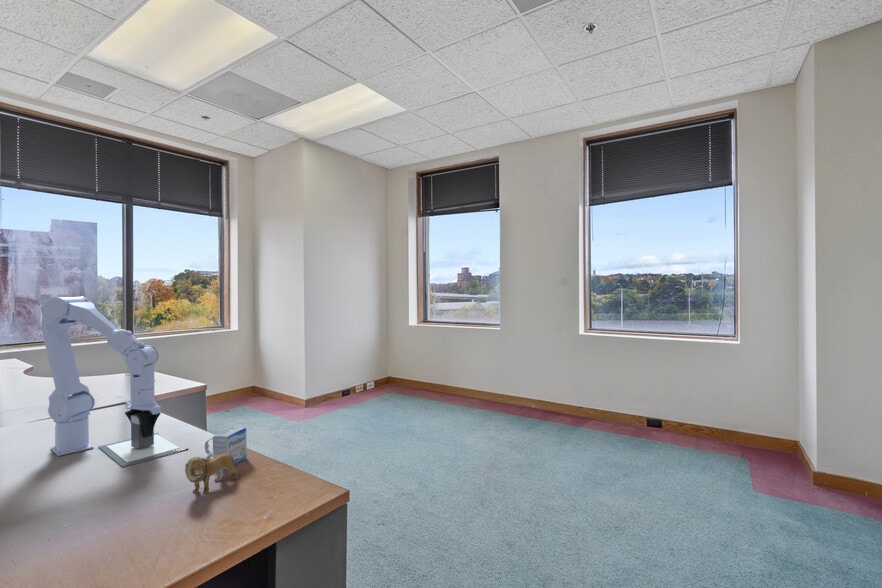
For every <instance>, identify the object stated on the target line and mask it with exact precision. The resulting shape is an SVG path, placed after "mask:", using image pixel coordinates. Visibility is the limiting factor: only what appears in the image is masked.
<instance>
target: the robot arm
mask: <svg viewBox="0 0 882 588" xmlns="http://www.w3.org/2000/svg"><path fill="white" fill-rule="evenodd" d="M40 311H41V315H42V321H41V326H40V328H41V332H42V333H41V334H42V337H43V342H44V345H45V350H46V354H47V357H48V358H47V359H48V363H49V366H50V371H51V375H52V376H51V377H52V378H53V379H52V380H53V383H54V387H55V388H54V390H53V391H52V392H51V394H49V396H48V402H49V403H48V407H47V408H48V409H47V413H48V415H49V417H50V419H51V420H53V423H55V426H54V445H52V446H50V449H51V450H52V451H53V453H54V454H55V455H56V456H57V457H60V456H64V455H68V454H69V455H70V454H73V453H77V452H82V451H85V450H91V449H94V445H93V444H92V443H90V438H89V435H90V433H89V431H90V430H89V429H90V427H89V425H90V424H89V423H90V422H89V420H90V419H89V416H90V415H91V411H92V410H93V409H94V407H95V404H96V400H95V397H94V396H93V395H92V394H91V392H90V388H89V387H88V386H87V385H86V384H83V383H82V382H81V381H80V376H79V371H78V367H77V363H76V360H75V355H74V350H73V347H72V343H71V339H70V334H69V330H70V329H71V328H72V327H73V325H74V324H76V323H77V322H83V323H85V324H87V326H90V327H91V328H92V329H94V330H95V331H97V332H98V333H99V334H101V335H103V336H104V337H105V338H106V339H107V340H106V341H107V342H106V343H107V345H108V346H110V347H111V348H112V349H113V350H115V351H116V352H117V353H118V354H120V355H121V356H122V357H123V358H124V362H125V365H126V366H127V367H128V370H129V373H130V375H129V377H130V400H125V410H127V411H125V412H124V414H125V415H126V417H127V418H128V420H129V422H130V424H131V415H136V414H137V417H138V419H139V421H140V424H141V430H142V435H143V437H144V438H145V437H149V436H152V433H153V429H154V430H155V427H156V422H157V421H158V418H159V416H160V415H161V413H162V409H161V408H162V407H161V405H158V403H157V402H155V363H157V361H158V360H159V356H160V355H159V352H158V350H157V348H155V347H154V346H153V345H146V343H145V342H143V341H140V340H139V339H138V338H136V337H135V336H134V335H133V331H131V330H127V329H122V328H121V329H118V328H117V327H116V326H115V325H114V324H113V323H112V322H111V321H110V320H108V318H107V317H105V316H104V314H103V313H101V312H100V311H99V310H98V309H97V308H96V306H95V304H94V303H93V302H91V301H90V300H89V299H88V298H86V297H85V296H79V295H77V296H65V297H64V296H63V297H60V296H59V297H58V296H52V297H51V298H48V299H47V300H46V301H45V302H44V303H43V305H42V306H41V307H40Z"/></svg>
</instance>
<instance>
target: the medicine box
mask: <svg viewBox="0 0 882 588" xmlns="http://www.w3.org/2000/svg"><path fill="white" fill-rule="evenodd" d="M212 438H213V439H212V453H213V456H212V459H214V458H215V457H217V456H218V455H221V454H226V453H227V454H230V455H231V456H232V457H233V459H234V463H235V466H236V465H238V464H239V463H241V462H242V461H245V460H246V459H247V456H248V455H247V453H248V452H247V428H246V427H242V426H232V427H230V428H228V429H226V430H223V431H221V432H219V433H217V434H215V435H213V436H212ZM224 470H226V471H228V470H227V469H226V468H224Z"/></svg>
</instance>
